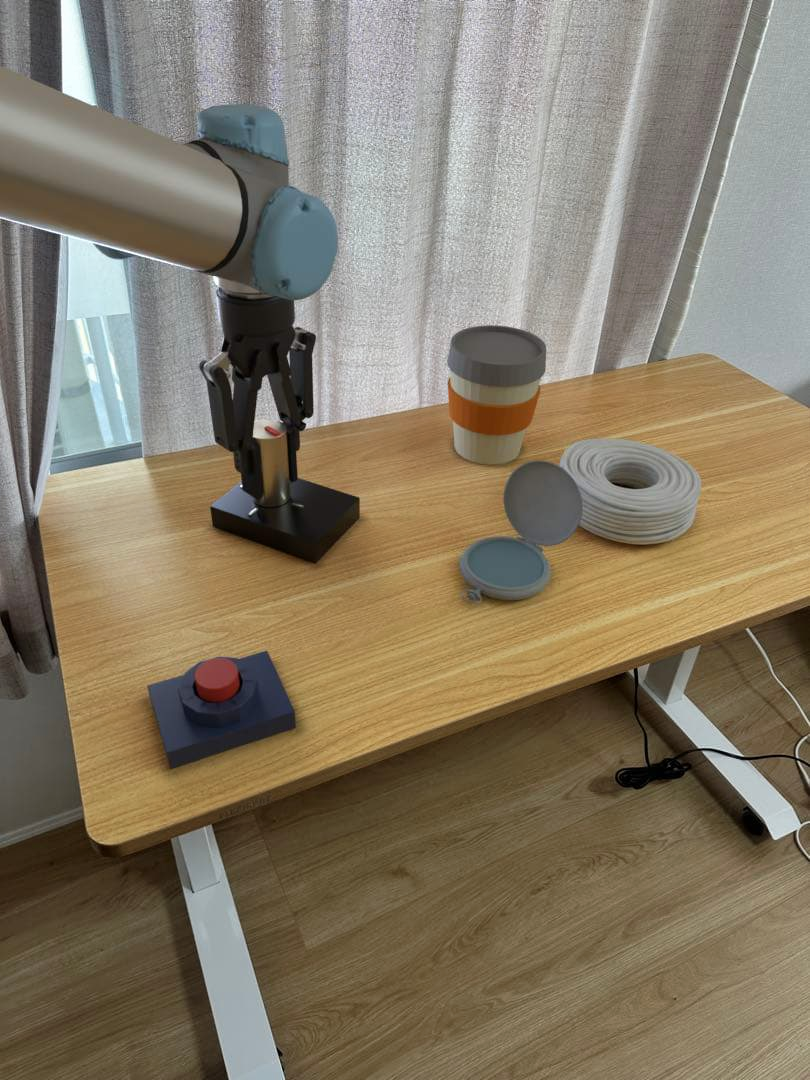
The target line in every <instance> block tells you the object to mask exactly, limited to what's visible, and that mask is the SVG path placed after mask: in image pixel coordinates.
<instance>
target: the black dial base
mask: <svg viewBox="0 0 810 1080" xmlns="http://www.w3.org/2000/svg"><path fill="white" fill-rule="evenodd" d="M360 503H361V498H360V497H359V496H355V495H352V494H349V493H346V492H344V491H341V490H340V491H339V490H337V489H334V488H331V487H328V486H325V485H322V484H318V483H315V482H313V481H309V480H307V479H303V478H299V477H298V480H297V481H295V482H291V481H290V499H289V500H288V501H287V502H286V503H285V504H283V505H280V506H277V507H263V506H260V505H258V504H256V503H255V502H254V501H253V499H252V496H250V495H249V494H247V493H246V492H244V491H243V489H242V480H241V481H239V483H237V484H236V485H235V486H233V487H232V488H231V489H230V490H228V491H227V492H226V493H225V494H223V495H222V496H221V497H220V498H218V499H217V500H216V501H215V502H213V503H212V504H211V505H210V506H209V509H210V517H211V523H212V524H211V525H212V528H214V529H217V530H220V531H221V532H225V533H228V534H230V535H233V536H237V537H239V538H241V539H244V540H247V541H250V542H252V543H255V544H258V545H261V546H263V547H267V548H269V549H272V550H274V551H276V552H277V551H278V552H279V553H283V554H287V555H289V556H291V557H293V558H297V559H298V560H299V559H300V560H303V561H305V562H307V563H311V564H313V565H317V563H318V562H319V561H320V560H322V558H323V557H324V556H325V555H326V554H327V553H328V552H329V551H330V550H331V549H332V548H333V547H334V546H335V545H336V544H337V542H338V541H340V540H341V538H342V537H343V536H345V534H346V533H347V532H348V531H349V530H350V529H351V528H352V527H353V526H354V525H355V524H356V523H357V521H359V520H360V518H361V517H360V513H361V512H360V511H361V510H360V509H361V507H360V506H361V504H360Z"/></svg>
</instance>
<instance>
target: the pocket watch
mask: <svg viewBox="0 0 810 1080" xmlns="http://www.w3.org/2000/svg"><path fill="white" fill-rule="evenodd" d="M502 499H503V508H504V512H505V516H506V518H507V520H508V522H509V524H510V526H511V527H512V528H513V530H514V531H515V532H516V533H517V534H518V535H519V536H516V537H511V536H501V535H500V536H498V535H497V536H496V535H495V536H489V537H484V538H481V539H479V540H476V541H474V542H472V543H471V544H470V545H469V546H467V548H466V549H465V550H464V551H463V552H462V554H461V556H460V559H459V563H458V567H459V572H460V574H461V576H462V579H463V580H464V582H465V583H466V585H468V586H469V587H470V588H471V589H469V590H468V589H467V590H463V591H461V593H460V595H461V598H462V599H463V600H464V601H466V602H469V603H471V604H480V603H481V602H482V601H483V599H482V595H484V596H485V597H489V598H492V599H496V600H503V601H519V600H526V599H528V598H532V597H534V596H537V595H538V594H540V593H541V592H542V591H543V590H544V589H545V588H547V585H548V584H549V582H550V580H551V577H552V568H551V564H550V562H549V560H548V558H547V557H546V555H545V554H544V553H543V552H544V548H542V547H541V546H543V547H553V546H558V545H560V544H562V543H564V542H566V541H567V540H568V539H570V538H571V537H572V536H573V535H574V534H575V532H576V531H577V529H578V527H580V526H579V523H580V520H581V517H582V509H583V504H582V497H581V493H580V490H579V488H578V486H577V484H576V482H575V481H574V479H573V478H572V476H571V475H570V474H569V473H568V472H567V471H566V470H564V469H563V468H561V467H560V466H559V464H556V463H554V462H552V461H548V460H542V459H541V460H539V459H538V460H537V459H536V460H529V461H526V462H524V463H522V464H521V465H519V466H518V467H516V468H515V469H514V470H513V471H512V472H511V474H510V475H509V476H508V479H507V480H506V483H505V485H504V490H503V498H502ZM464 593H467V594H468V597H465V596H464ZM475 600H479V601H475Z"/></svg>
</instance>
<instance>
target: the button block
mask: <svg viewBox="0 0 810 1080" xmlns="http://www.w3.org/2000/svg"><path fill="white" fill-rule="evenodd" d="M215 658H223V659H228V660H230V661H232V662H233V663H234V664H235V665H236V666H237V669H238V676H239V683H240V685H239V689H238V691H237V693H236V694H235V695H234V696H233V697H232V698H230V699H229V700H226V701H223V702H219V703H212V702H207V701H205V700H203V699H202V698H201V697H200V696H199V695H198V692H197V687H196V682H195V672H196V670H197V669H198V667H199V666H200V665H201V664H203V663H204V662H206V661H208V660H211V659H215ZM146 686H147V691H148V696H149V700H150V703H151V704H150V705H151V708H152V711H153V715H154V718H155V721H156V725H157V728H158V731H159V735H160V738H161V742H162V746H163V749H164V753H165V756H166V759H167V763H168V767H169V769H170V770H173V769H176V768H180V767H182V766H185V765H189V764H191V763H193V762H197V761H201V760H204V759H206V758H209V757H212V756H215V755H218V754H221V753H224V752H227V751H230V750H234V749H235V748H239V747H242V746H245V745H248V744H252V743H254V742H257V741H260V740H263V739H266V738H270V737H273V736H275V735H278V734H281V733H284V732H288V731H291V730H294V729H296V728H297V720H296V719H297V718H296V710H295V708H294V706H293V704H292V701H291V699H290V697H289V695H288V693H287V691H286V689H285V686H284V685H283V682H282V680H281V678H280V676H279V674H278V671H277V669H276V667H275V665H274V662H273V660H272V658H271V656H270V654H269V652H268V650H264V651H261V652H257V653H254V654H250V655H247V656H243V657H240V658H238V657H229V656H221V655H220V656H219V655H218V656H215V657H212V658H208V659H205V660H201V661H198V662H197V663H196V664H194V665H193V666H192V667H191V668H189V669H188V670H186V672H184V674H181V675H179V676H175V677H171V678H168V679H165V680H161V681H158V682H154V683H151V684H147V685H146Z"/></svg>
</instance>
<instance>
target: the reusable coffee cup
mask: <svg viewBox="0 0 810 1080" xmlns="http://www.w3.org/2000/svg"><path fill="white" fill-rule="evenodd" d="M446 363H447V367H448V369H449V378H448V380H447V394H448V396H447V397H448V398H447V399H448V412H449V413H448V414H449V417H450V418H451V420H452V427H453V444H454V449H455V451H456V453H457V454H458V455H459V456H460V457H462V458H463V459H465V460H466V461H469V462H472V463H475V464H480V465H487V466H488V465H489V466H490V465H492V466H494V465H496V466H497V465H502V464H503V465H504V464H507V463H509V462H511V461H512V462H513V460H515V459H516V458H517V457H518V456H519V454H520V452H521V449H522V445H523V441H524V437H525V434H526V430H527V428H528V427H529V426H530V425H531V423H532V421H533V417H534V415H535V411H536V407H537V405H538V400H539V397H540V394H541V386H540V382H541V379H542V377H543V376H544V375H545V373H546V370H547V369H546V367H547V345H546V343H545V342H544V340H543V339H542V338H541V337H539V336H537V335H536V334H534V333H531V332H530V331H527V330H524V329H522V328H518V327H517V328H516V327H512V326H507V325H496V324H495V325H492V324H489V325H488V324H486V325H485V324H484V325H475V326H470V327H467V328H463V329H461V330H459V331H457V332H455V333H454V335H453V336H452V337H451V339H450V345H449V350H448V355H447V359H446Z"/></svg>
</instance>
